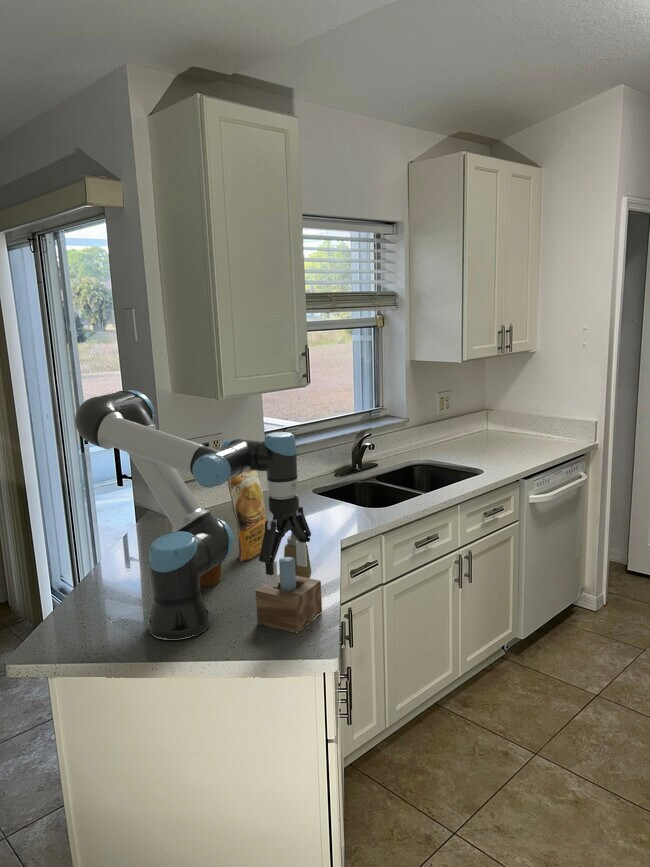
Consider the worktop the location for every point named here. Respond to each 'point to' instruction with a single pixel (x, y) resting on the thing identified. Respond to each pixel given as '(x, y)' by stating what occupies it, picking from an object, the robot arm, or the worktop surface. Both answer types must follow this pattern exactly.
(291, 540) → the squeeze bottle
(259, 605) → the socket block
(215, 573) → the disposable coffee cup
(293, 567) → the dowel
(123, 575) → the worktop surface
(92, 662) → the worktop surface
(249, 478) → the pancake mix bag
